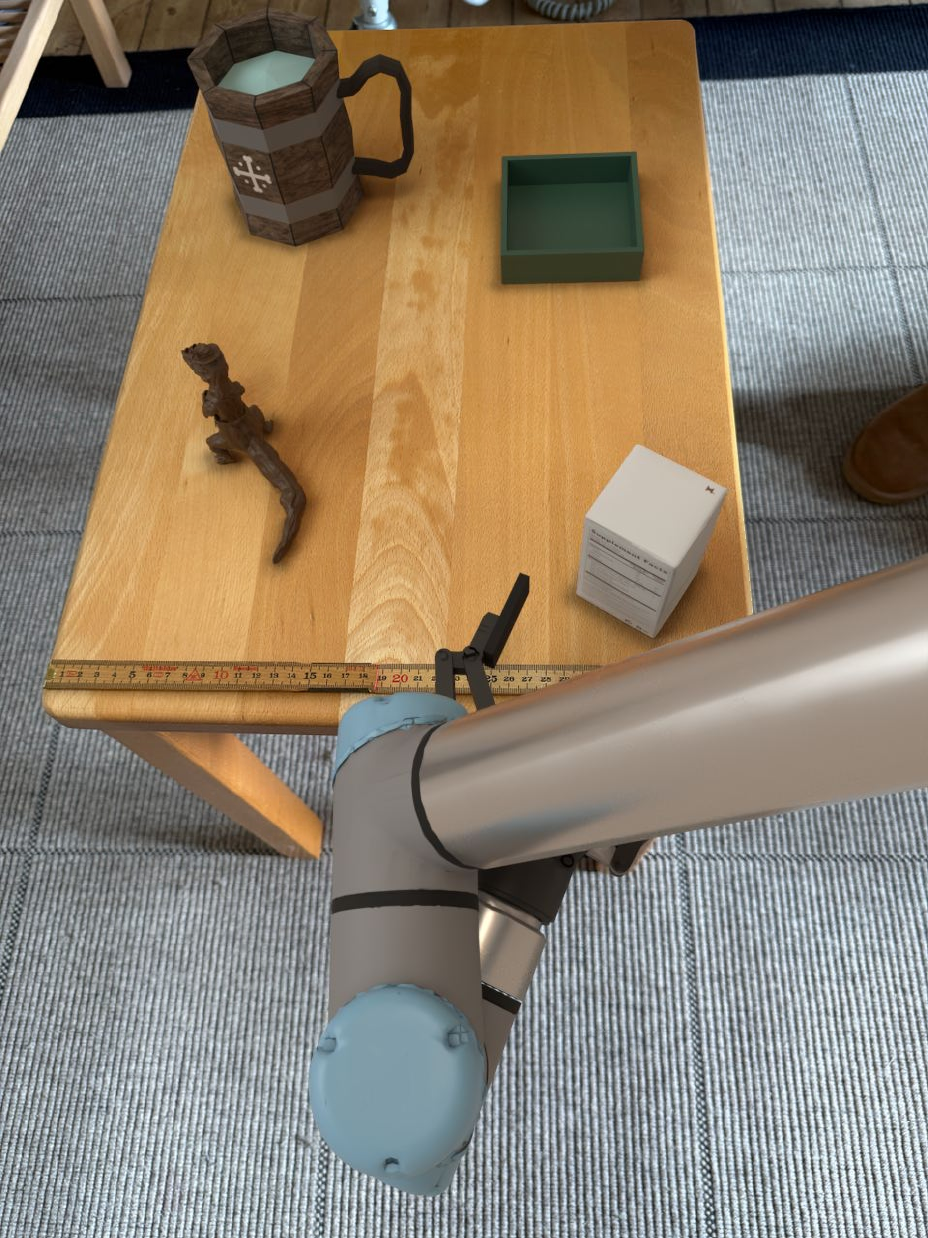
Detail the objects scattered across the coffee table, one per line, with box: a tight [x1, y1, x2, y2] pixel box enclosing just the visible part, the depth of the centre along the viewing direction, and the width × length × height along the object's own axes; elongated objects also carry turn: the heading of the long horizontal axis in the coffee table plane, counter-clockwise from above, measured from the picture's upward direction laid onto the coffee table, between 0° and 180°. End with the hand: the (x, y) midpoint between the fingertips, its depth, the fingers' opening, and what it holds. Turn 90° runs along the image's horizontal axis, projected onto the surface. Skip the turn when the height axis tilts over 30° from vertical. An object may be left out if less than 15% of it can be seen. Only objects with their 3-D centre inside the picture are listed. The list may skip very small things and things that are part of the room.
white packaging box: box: [575, 443, 729, 639], centre depth 65 cm, size 7×7×13 cm
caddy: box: [500, 150, 645, 285], centre depth 85 cm, size 13×13×4 cm
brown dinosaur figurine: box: [180, 342, 307, 565], centre depth 71 cm, size 15×10×12 cm, turn 174°
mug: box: [186, 6, 415, 247], centre depth 84 cm, size 20×14×15 cm
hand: (614, 615), depth 62 cm, fingers open, 13 cm apart
